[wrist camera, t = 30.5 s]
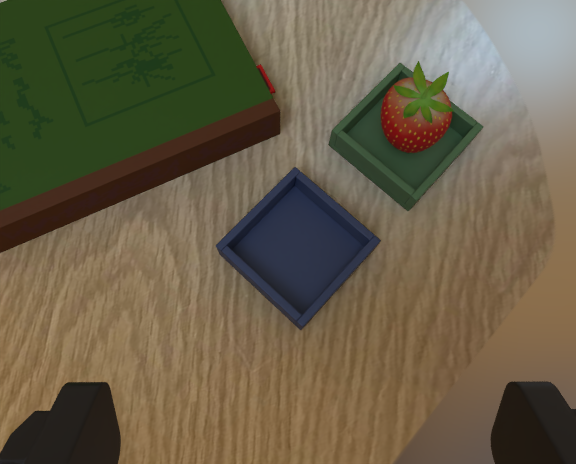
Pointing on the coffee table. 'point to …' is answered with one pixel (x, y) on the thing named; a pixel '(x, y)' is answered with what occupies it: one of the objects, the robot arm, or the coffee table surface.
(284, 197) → the blue tray
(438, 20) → the coffee table surface
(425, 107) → the fruit
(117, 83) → the hardcover book
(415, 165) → the green tray
